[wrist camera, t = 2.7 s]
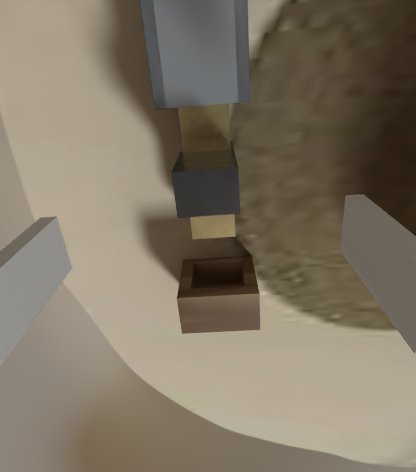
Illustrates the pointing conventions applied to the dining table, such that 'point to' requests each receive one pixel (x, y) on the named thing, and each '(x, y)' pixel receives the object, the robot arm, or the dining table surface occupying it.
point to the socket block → (218, 295)
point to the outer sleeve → (197, 51)
